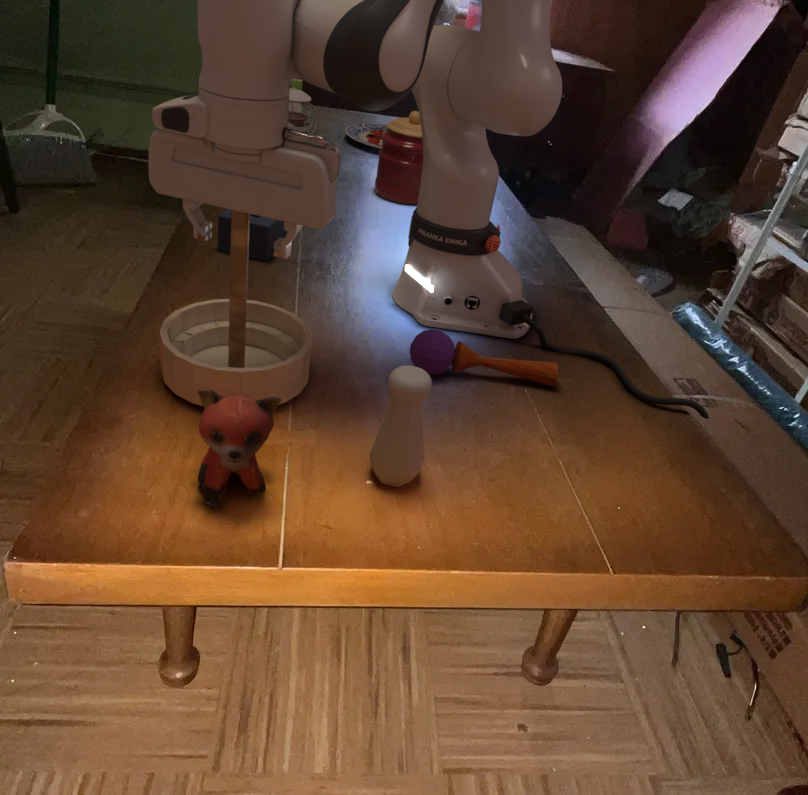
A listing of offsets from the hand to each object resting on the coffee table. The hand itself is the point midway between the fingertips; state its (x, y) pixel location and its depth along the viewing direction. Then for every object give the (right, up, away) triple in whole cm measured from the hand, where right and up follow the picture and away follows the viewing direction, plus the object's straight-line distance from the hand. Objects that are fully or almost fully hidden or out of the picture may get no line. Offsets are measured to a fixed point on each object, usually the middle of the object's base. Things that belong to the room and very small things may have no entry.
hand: (242, 247), depth 82 cm
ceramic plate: (+15, +50, +112) cm, 123 cm away
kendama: (+28, -14, +17) cm, 36 cm away
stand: (-8, +9, +42) cm, 44 cm away
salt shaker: (+17, -25, -3) cm, 31 cm away
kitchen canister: (+18, +27, +78) cm, 84 cm away
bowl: (-3, -14, +9) cm, 17 cm away
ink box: (-14, +50, +105) cm, 117 cm away
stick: (-3, -14, +8) cm, 16 cm away
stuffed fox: (+1, -25, -7) cm, 26 cm away
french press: (-8, +39, +89) cm, 97 cm away
